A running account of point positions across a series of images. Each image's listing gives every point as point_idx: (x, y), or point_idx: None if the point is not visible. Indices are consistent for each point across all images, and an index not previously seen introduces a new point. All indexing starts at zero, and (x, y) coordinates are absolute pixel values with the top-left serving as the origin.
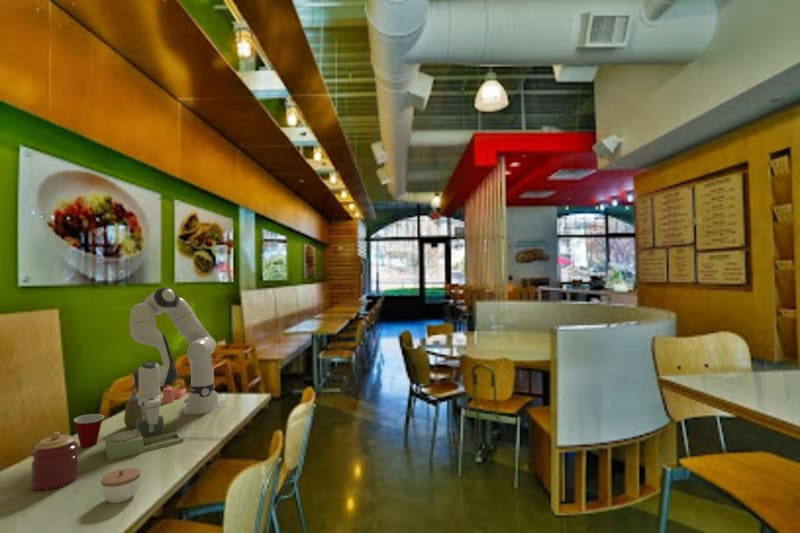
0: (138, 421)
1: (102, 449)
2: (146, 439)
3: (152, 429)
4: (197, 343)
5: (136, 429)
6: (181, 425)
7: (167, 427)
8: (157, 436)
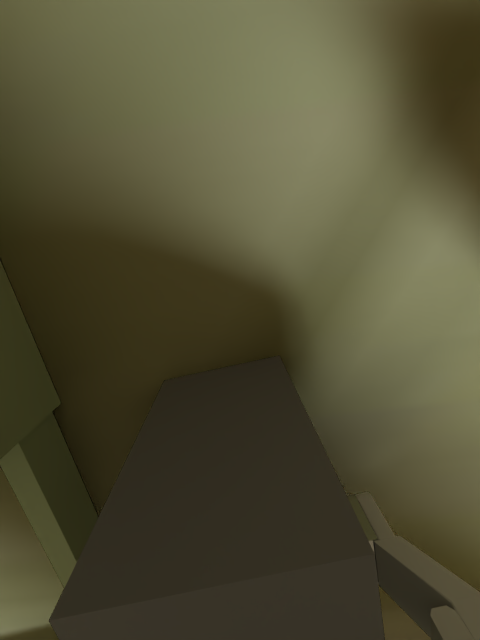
0: (192, 616)
1: (19, 16)
2: (22, 492)
3: None
4: None
5: (282, 409)
6: (403, 636)
7: None
8: (61, 576)
